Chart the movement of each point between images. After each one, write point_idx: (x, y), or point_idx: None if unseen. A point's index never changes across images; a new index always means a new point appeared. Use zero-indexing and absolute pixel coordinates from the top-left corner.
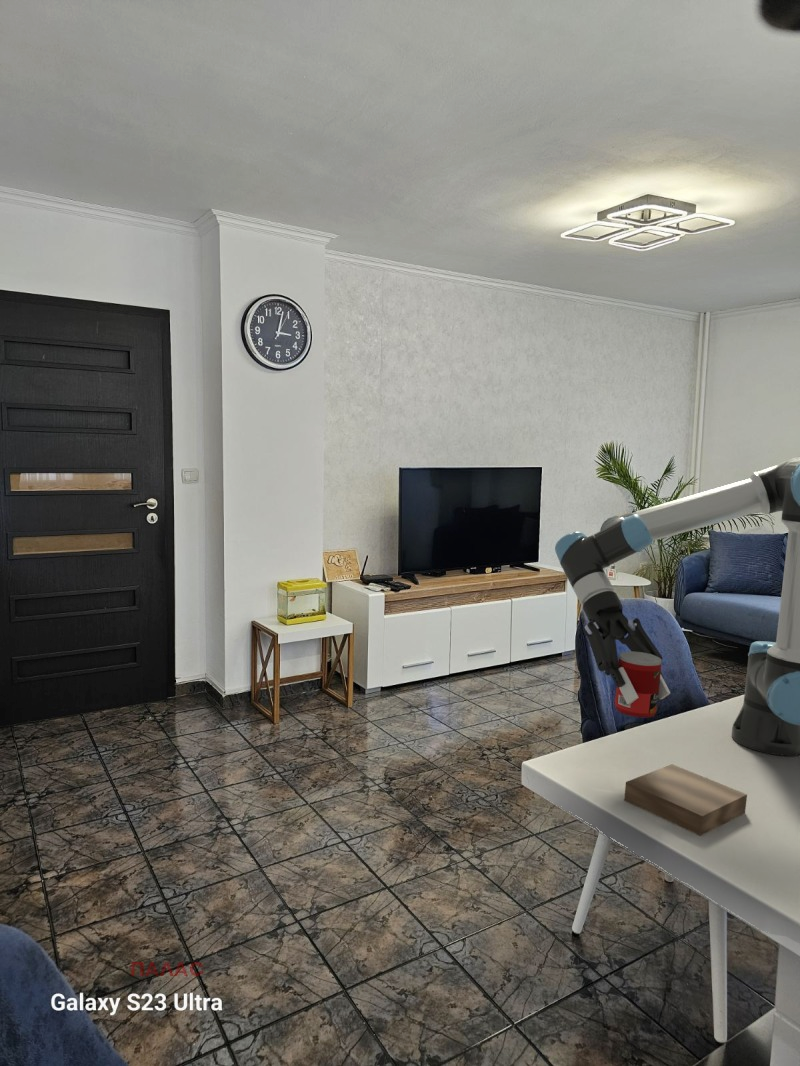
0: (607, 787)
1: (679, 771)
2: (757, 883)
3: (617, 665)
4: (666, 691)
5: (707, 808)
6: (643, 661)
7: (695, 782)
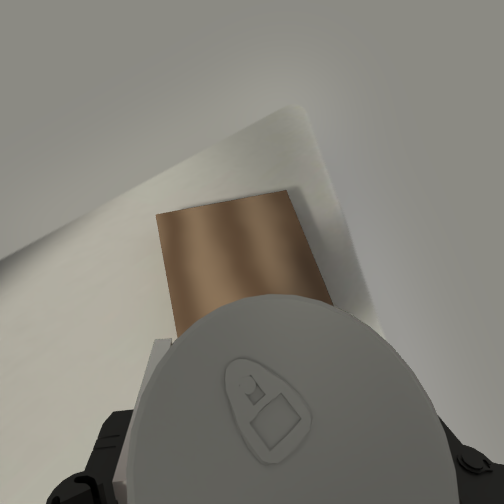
0: None
1: (195, 318)
2: (291, 131)
3: (464, 452)
4: (169, 346)
5: (261, 202)
6: (313, 370)
7: (205, 272)
